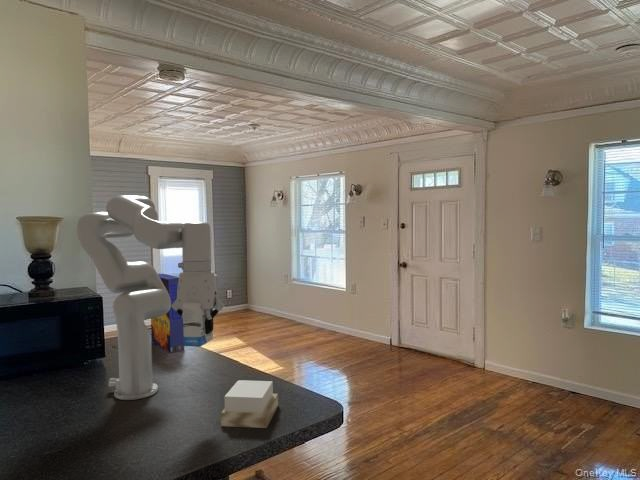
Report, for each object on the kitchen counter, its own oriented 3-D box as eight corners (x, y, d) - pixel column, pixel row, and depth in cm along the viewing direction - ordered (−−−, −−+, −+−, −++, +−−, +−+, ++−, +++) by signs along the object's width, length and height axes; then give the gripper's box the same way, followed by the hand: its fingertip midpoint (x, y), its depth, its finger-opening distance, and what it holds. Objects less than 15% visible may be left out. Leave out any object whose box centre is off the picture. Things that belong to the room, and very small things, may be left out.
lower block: (221, 427, 119) (220, 412, 118) (237, 405, 133) (237, 392, 132) (266, 429, 117) (266, 414, 117) (278, 407, 131) (277, 393, 131)
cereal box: (151, 342, 202) (149, 274, 200) (165, 339, 206) (163, 273, 204) (170, 353, 185) (168, 278, 183) (184, 350, 189) (182, 277, 187)
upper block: (224, 411, 119) (224, 396, 119) (238, 393, 131) (238, 380, 131) (262, 413, 118) (262, 397, 118) (272, 395, 130) (272, 381, 130)
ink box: (199, 347, 122) (199, 303, 121) (182, 346, 123) (181, 302, 122) (213, 339, 130) (213, 297, 130) (197, 338, 131) (196, 297, 131)
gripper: (160, 268, 123) (162, 335, 124) (222, 268, 121) (224, 337, 122) (173, 265, 130) (174, 329, 131) (231, 265, 128) (233, 330, 129)
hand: (198, 332), depth 126 cm, fingers closed on ink box, 5 cm apart
